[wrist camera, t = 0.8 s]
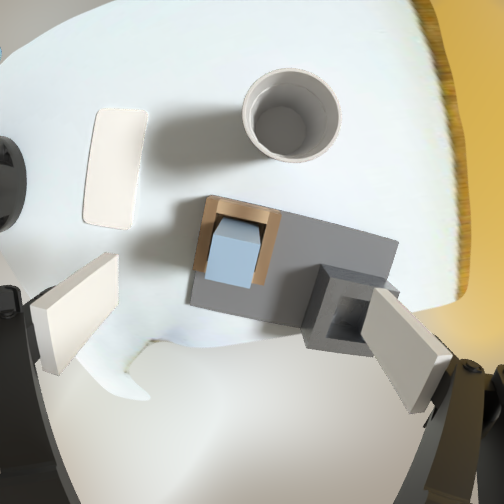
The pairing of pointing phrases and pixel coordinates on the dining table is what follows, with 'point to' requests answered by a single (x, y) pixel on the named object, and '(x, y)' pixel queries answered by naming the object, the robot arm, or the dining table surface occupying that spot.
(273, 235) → the tan square frame
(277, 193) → the dining table surface
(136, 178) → the smartphone
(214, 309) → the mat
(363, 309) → the port
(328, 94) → the cup
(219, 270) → the plug
